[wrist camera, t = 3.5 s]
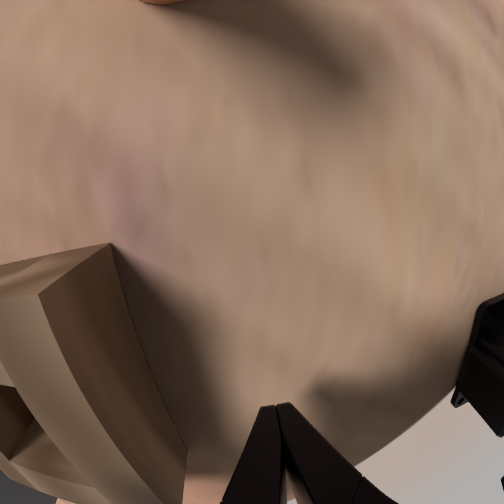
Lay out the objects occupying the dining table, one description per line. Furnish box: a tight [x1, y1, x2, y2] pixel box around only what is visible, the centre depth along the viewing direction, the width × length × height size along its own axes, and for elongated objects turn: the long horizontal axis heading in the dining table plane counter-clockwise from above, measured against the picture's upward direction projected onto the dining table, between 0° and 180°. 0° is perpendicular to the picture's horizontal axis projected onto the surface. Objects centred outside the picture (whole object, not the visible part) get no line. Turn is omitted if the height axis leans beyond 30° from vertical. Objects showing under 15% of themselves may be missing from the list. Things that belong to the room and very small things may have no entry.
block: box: [0, 243, 187, 504], centre depth 8 cm, size 10×10×4 cm
